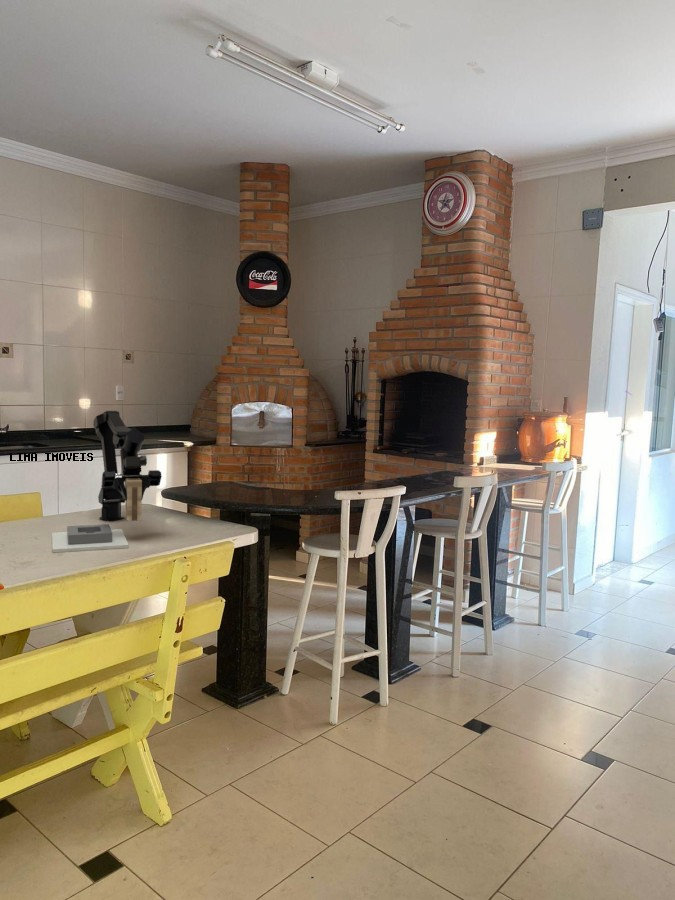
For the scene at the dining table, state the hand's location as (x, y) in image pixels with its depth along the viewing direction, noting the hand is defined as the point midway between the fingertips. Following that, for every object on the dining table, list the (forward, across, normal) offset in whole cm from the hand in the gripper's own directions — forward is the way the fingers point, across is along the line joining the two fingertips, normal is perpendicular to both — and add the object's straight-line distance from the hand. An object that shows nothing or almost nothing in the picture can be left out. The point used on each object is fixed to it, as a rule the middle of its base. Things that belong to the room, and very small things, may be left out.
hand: (134, 499), depth 223 cm
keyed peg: (+4, 0, +6) cm, 7 cm away
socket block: (+9, -14, +10) cm, 19 cm away
